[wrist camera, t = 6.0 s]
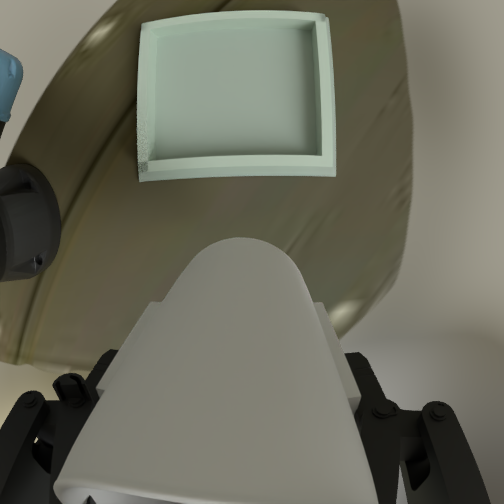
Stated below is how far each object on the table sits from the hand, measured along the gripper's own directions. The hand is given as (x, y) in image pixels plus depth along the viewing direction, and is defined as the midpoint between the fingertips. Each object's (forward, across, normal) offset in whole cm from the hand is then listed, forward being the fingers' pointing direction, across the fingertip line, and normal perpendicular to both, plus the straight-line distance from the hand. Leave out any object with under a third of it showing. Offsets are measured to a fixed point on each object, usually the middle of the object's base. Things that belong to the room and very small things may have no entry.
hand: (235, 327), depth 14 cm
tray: (+17, -1, +15) cm, 23 cm away
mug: (+1, -1, 0) cm, 1 cm away
